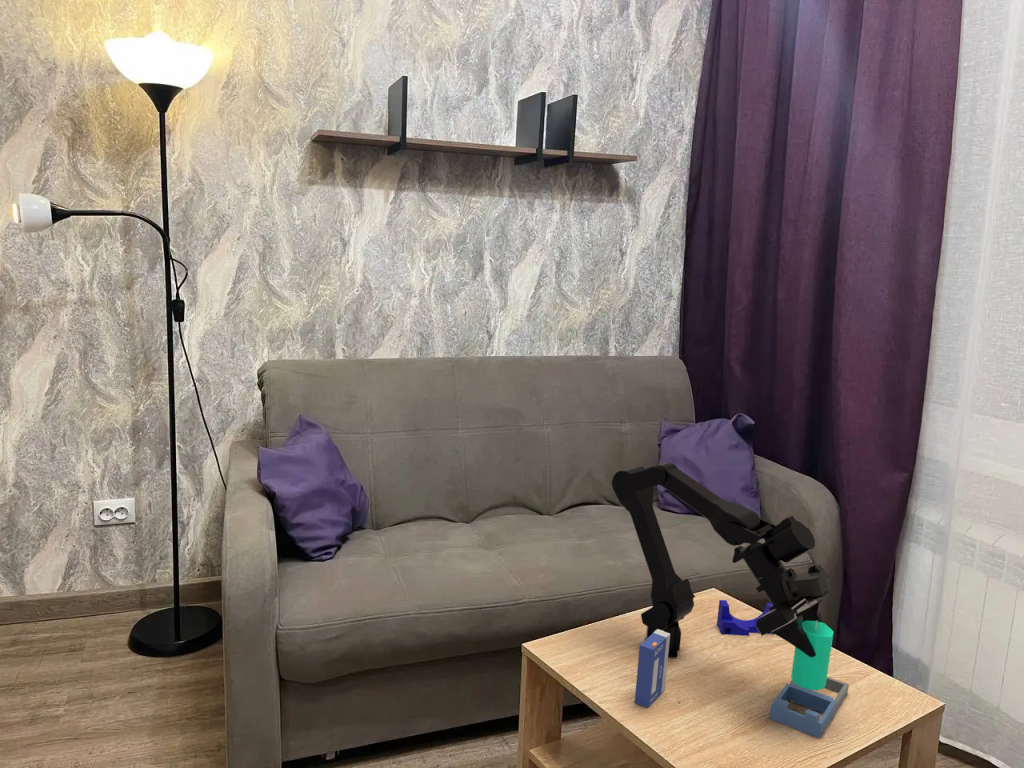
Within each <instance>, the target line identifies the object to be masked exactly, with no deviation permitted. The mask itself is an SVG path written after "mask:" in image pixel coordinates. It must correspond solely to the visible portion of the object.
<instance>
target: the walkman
mask: <svg viewBox="0 0 1024 768" xmlns="http://www.w3.org/2000/svg"><path fill="white" fill-rule="evenodd" d="M669 642H670V633H667V632H664V631H662V630H659V629H657V630H656V631H655V632H654V633H653V634H652V635H650V636H649V637H648V638H647V639H646V640H645V639H644V641H643V642H642V643H640V644H639V651H638V659H637V660H638V661H637V671H636V682H635V683H636V684H635V694H634V703H635V704H637V705H640V706H642V707H644V708H647V709H648V708H649V707H650V706H651V705H652V704H654V702H655V701H656V700H657V699H658V698H659V697H660V696H661V695H662V694H663V692H664V691H665V690H666V681H667V671H668V662H669V661H668V660H669V657H668V652H669Z"/></svg>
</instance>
